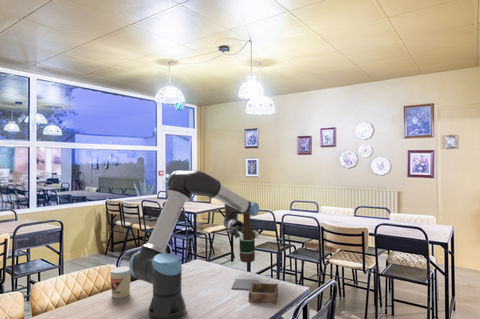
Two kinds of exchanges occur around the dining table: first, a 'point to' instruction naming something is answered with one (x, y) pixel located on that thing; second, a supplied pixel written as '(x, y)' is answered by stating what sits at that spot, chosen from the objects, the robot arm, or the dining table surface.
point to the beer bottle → (247, 241)
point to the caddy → (263, 293)
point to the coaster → (243, 284)
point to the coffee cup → (120, 281)
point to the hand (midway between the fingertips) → (250, 236)
